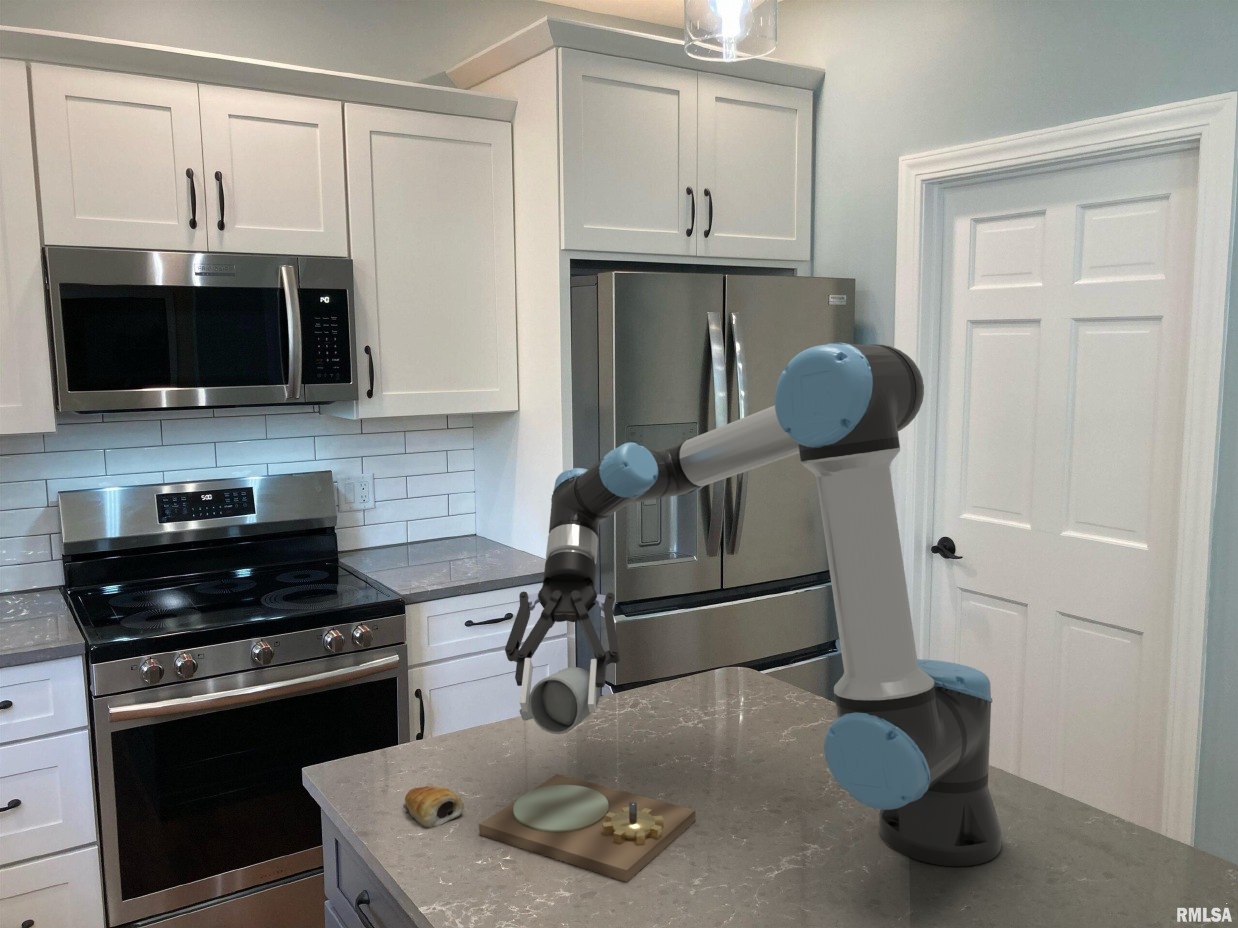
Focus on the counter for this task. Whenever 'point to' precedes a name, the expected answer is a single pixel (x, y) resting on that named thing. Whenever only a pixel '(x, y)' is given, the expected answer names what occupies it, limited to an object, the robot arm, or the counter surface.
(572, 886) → the counter surface
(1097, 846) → the counter surface
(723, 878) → the counter surface
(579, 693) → the ceramic mug
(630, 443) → the robot arm
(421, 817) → the pastry
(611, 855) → the gear board
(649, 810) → the gear
